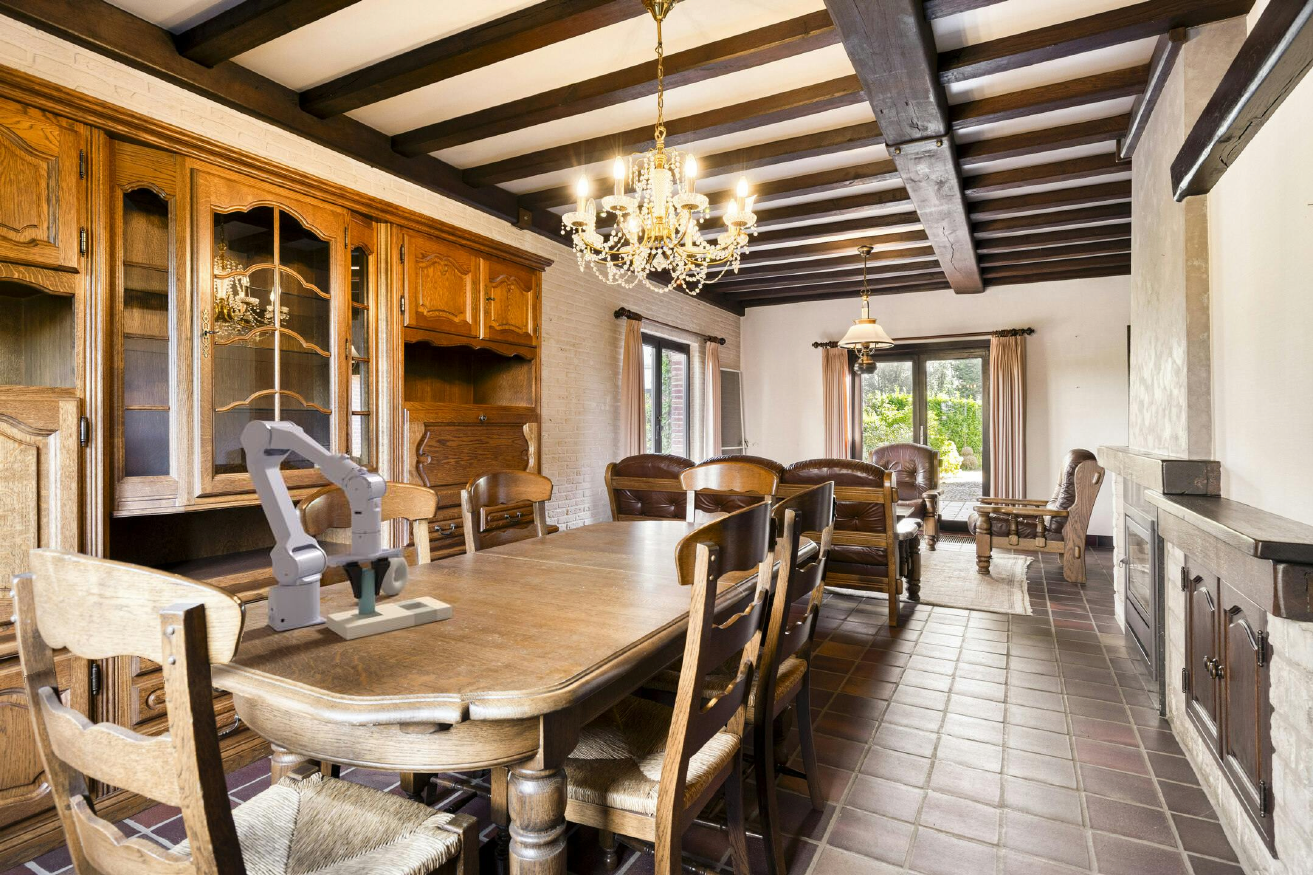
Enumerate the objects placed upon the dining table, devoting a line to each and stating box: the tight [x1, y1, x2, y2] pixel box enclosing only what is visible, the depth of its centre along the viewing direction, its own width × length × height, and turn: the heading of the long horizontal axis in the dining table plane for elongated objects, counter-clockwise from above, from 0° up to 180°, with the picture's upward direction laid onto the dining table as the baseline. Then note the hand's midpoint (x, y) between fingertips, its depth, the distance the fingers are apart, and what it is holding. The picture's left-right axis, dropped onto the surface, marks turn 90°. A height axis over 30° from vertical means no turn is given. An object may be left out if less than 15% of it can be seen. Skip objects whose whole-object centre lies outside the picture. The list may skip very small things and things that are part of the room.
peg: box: [357, 567, 376, 615], centre depth 137 cm, size 3×3×9 cm
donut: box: [380, 557, 409, 596], centre depth 164 cm, size 10×4×10 cm, turn 170°
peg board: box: [326, 596, 453, 641], centre depth 140 cm, size 22×12×2 cm, turn 134°
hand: (366, 596), depth 137 cm, fingers closed on peg, 3 cm apart
